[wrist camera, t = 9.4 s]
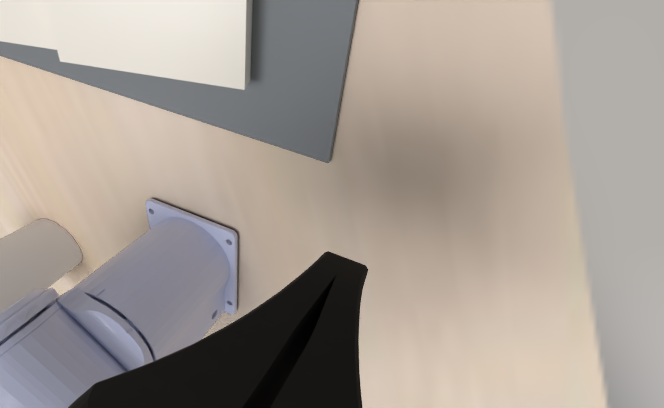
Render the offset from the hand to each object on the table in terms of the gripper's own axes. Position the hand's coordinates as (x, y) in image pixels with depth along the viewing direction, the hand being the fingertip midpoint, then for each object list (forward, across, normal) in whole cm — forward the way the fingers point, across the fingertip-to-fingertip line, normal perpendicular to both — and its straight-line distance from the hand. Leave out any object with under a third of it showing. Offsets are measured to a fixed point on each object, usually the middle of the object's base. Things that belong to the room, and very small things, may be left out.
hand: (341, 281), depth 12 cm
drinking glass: (+11, +31, +21) cm, 39 cm away
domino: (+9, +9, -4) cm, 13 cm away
